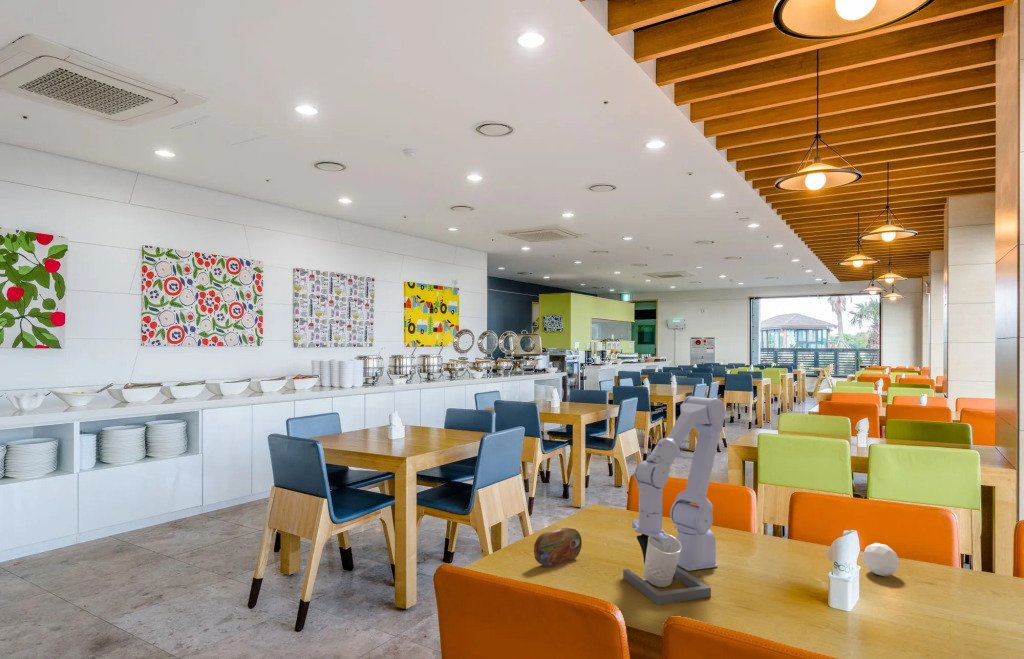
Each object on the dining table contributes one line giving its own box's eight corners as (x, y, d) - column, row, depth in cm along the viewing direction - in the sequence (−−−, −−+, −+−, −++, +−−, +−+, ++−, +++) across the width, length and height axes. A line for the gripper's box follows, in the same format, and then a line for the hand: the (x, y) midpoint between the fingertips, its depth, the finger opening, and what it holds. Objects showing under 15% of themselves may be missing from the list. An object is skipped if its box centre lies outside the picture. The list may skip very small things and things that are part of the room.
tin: (539, 570, 146) (539, 537, 147) (531, 566, 149) (531, 533, 149) (582, 557, 155) (582, 526, 156) (574, 554, 158) (574, 523, 158)
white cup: (676, 592, 136) (683, 556, 133) (642, 585, 136) (649, 550, 134) (672, 569, 143) (679, 535, 140) (640, 564, 144) (646, 529, 141)
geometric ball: (874, 586, 144) (852, 558, 146) (881, 566, 150) (860, 540, 151) (903, 580, 139) (880, 551, 140) (909, 560, 144) (887, 533, 146)
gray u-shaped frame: (672, 571, 146) (672, 563, 146) (710, 596, 132) (710, 587, 132) (623, 577, 142) (623, 569, 142) (657, 604, 127) (657, 595, 127)
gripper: (622, 503, 149) (620, 556, 148) (651, 520, 135) (650, 578, 134) (646, 502, 151) (645, 554, 150) (677, 518, 137) (676, 575, 137)
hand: (649, 565), depth 143 cm, fingers closed, pressing on white cup
